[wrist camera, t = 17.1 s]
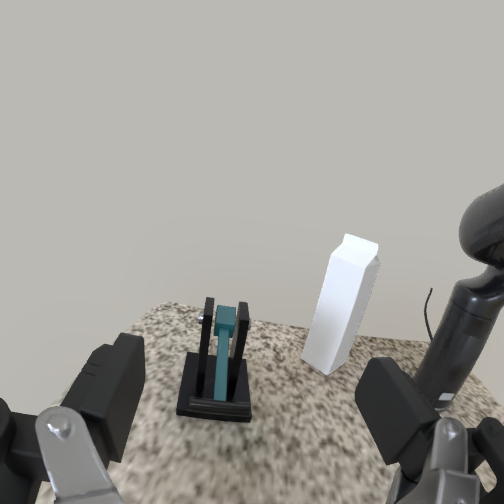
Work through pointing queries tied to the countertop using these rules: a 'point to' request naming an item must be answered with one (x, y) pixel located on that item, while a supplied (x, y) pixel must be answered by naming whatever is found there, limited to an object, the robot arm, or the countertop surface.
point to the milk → (341, 303)
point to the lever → (221, 371)
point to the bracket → (204, 368)
